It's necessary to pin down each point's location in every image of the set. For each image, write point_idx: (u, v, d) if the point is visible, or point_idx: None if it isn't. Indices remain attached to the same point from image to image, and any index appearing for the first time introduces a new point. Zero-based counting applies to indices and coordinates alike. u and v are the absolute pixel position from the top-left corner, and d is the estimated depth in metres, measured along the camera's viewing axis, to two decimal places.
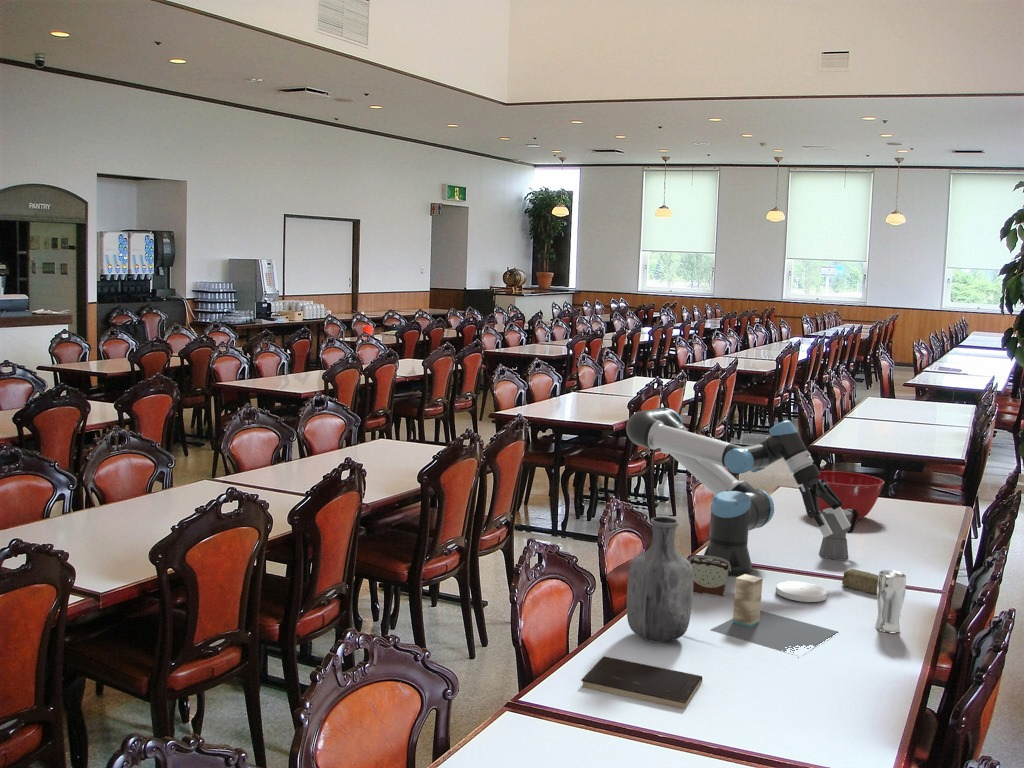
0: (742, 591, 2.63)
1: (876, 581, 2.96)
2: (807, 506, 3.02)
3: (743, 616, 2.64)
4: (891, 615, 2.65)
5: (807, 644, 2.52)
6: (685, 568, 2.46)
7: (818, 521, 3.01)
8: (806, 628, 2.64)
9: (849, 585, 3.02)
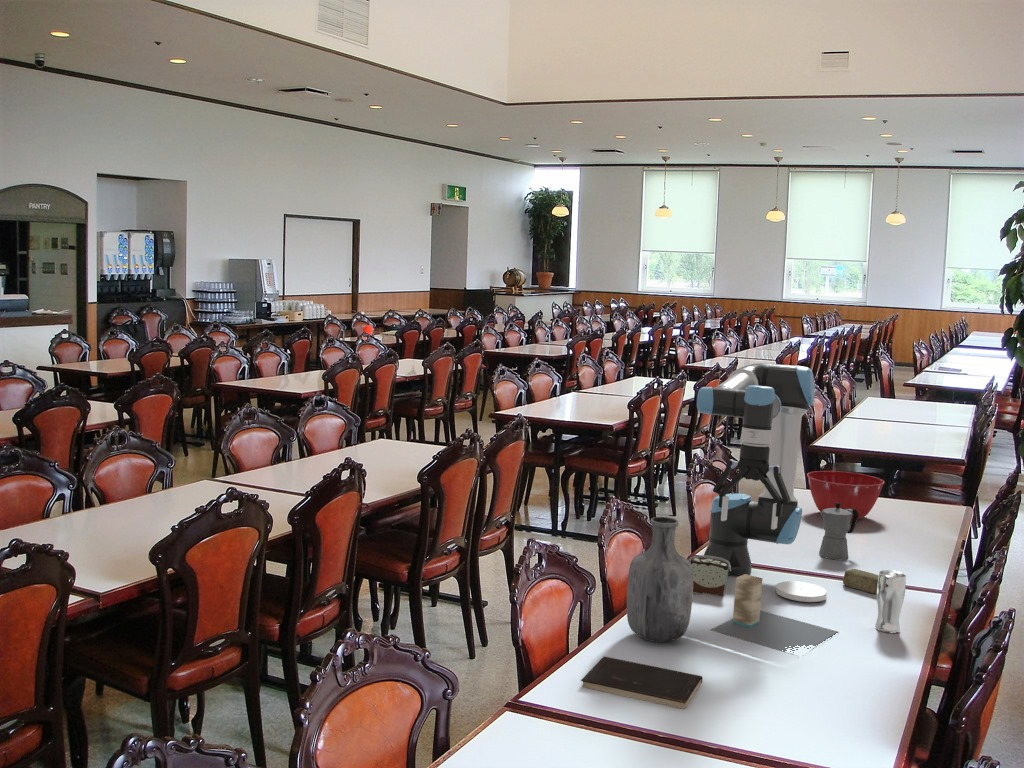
0: (742, 591, 2.63)
1: (875, 581, 2.96)
2: None
3: (743, 616, 2.64)
4: (891, 615, 2.65)
5: (807, 644, 2.52)
6: (685, 568, 2.46)
7: None
8: (806, 628, 2.64)
9: (849, 584, 3.02)
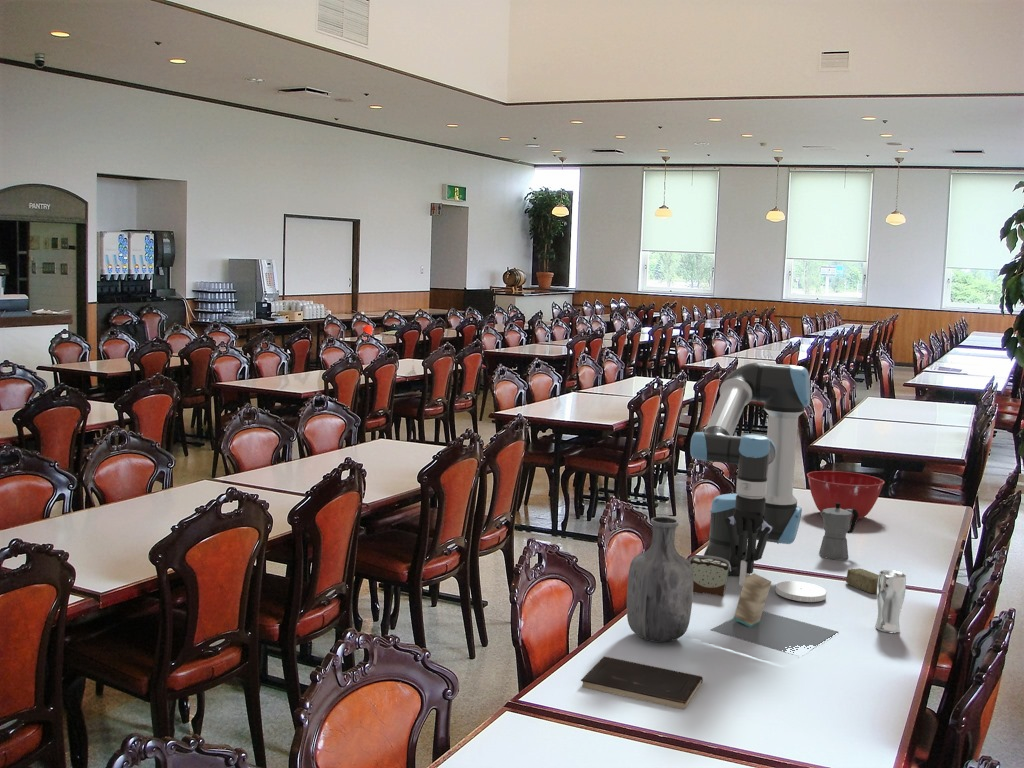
0: (749, 591, 2.62)
1: (872, 580, 2.97)
2: None
3: (745, 615, 2.63)
4: (891, 615, 2.65)
5: (807, 644, 2.52)
6: (685, 568, 2.46)
7: None
8: (806, 628, 2.64)
9: (851, 583, 3.04)
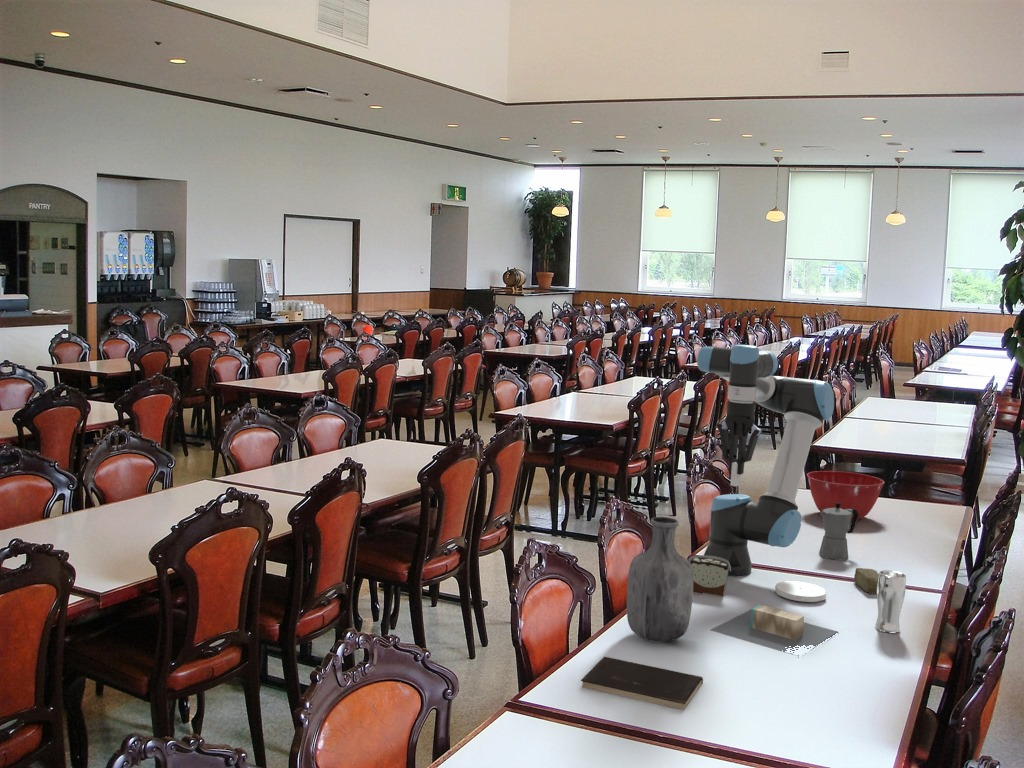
0: (783, 625, 2.57)
1: (867, 579, 2.97)
2: None
3: (759, 622, 2.61)
4: (891, 615, 2.65)
5: (807, 644, 2.52)
6: (685, 568, 2.46)
7: None
8: (806, 628, 2.64)
9: (856, 582, 3.06)
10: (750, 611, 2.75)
